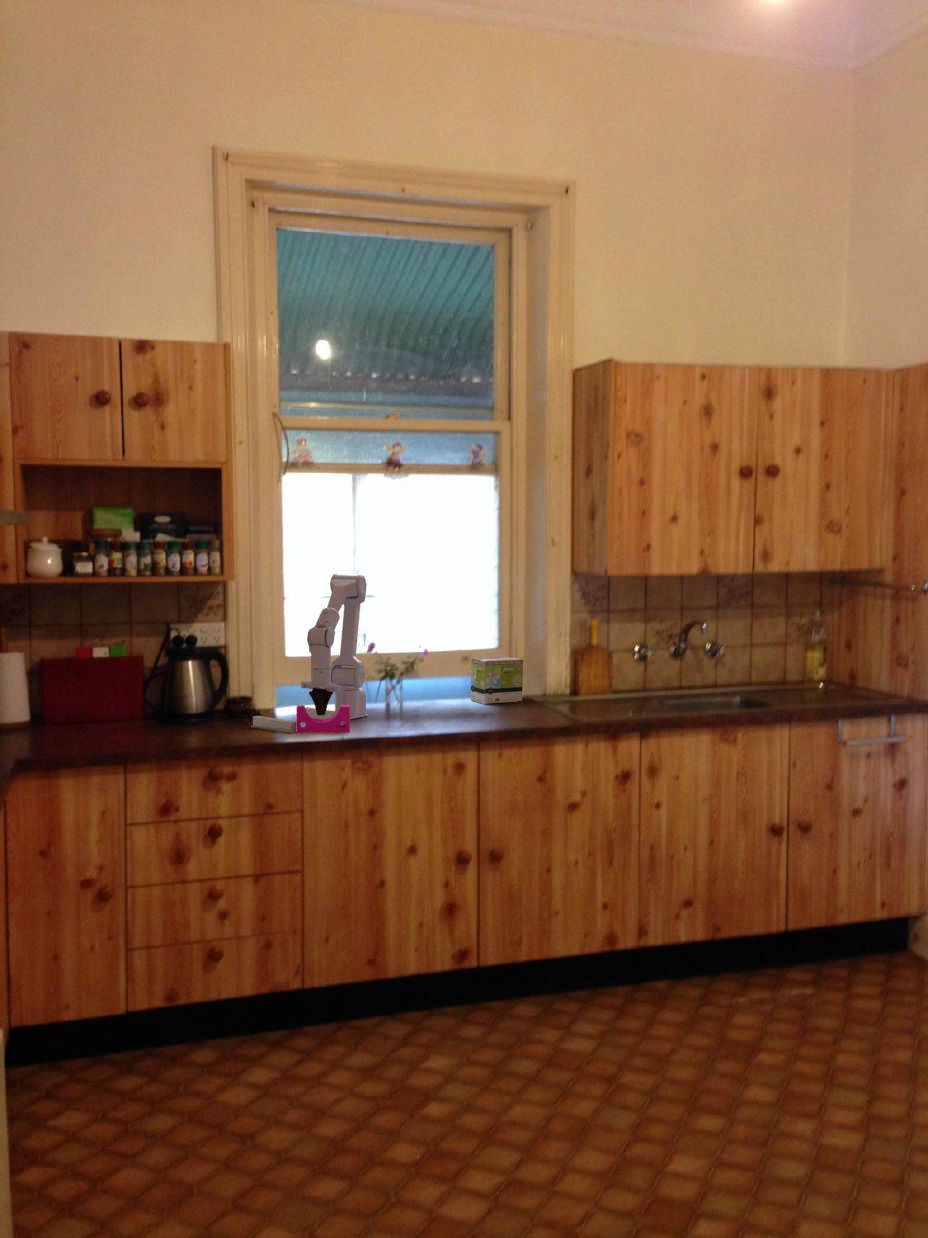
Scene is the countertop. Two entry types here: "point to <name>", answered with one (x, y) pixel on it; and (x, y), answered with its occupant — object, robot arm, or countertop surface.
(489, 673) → the tea box
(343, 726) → the toy block
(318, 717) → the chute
